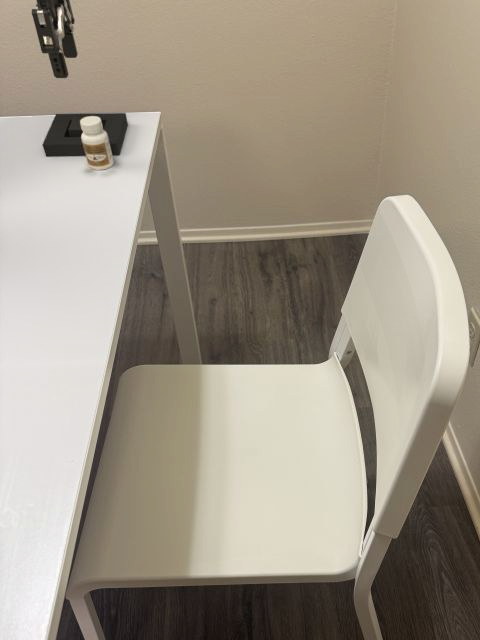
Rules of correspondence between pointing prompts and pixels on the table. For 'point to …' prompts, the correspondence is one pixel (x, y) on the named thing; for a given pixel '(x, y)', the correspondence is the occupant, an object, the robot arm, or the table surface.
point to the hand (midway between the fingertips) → (66, 67)
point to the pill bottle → (96, 143)
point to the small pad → (76, 127)
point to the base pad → (65, 145)
